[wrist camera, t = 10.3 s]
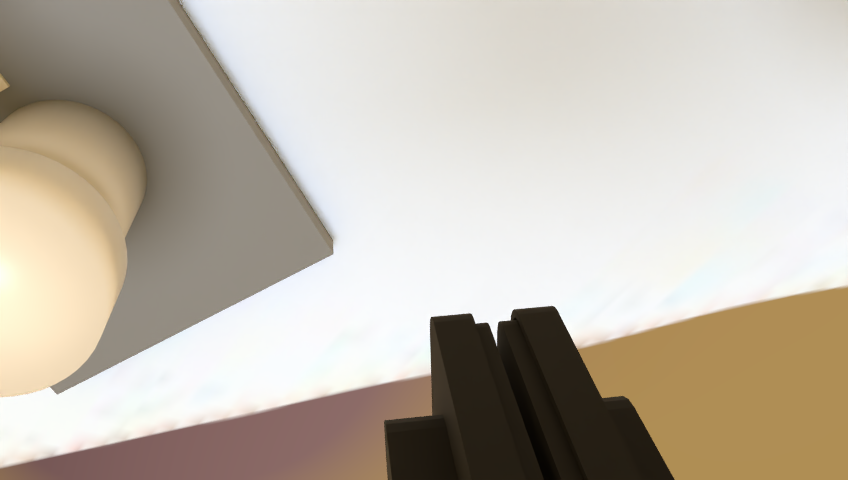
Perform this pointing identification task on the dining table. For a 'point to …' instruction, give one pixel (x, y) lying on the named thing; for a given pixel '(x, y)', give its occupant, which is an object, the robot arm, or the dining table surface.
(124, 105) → the base
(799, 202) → the dining table surface
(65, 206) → the cream piece
